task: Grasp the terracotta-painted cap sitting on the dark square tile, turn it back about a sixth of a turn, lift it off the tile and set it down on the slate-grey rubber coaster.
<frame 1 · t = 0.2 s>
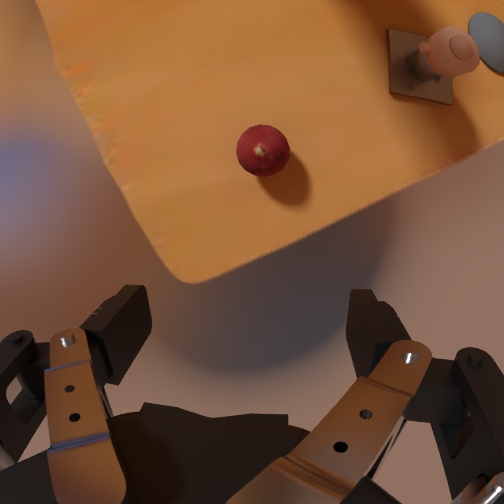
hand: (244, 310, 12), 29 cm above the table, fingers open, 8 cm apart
coaster: (493, 42, 28), on the table
dark square tile: (419, 67, 32), on the table
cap: (443, 55, 25), point 7 cm above the table, touching dark square tile
onion: (264, 150, 38), on the table
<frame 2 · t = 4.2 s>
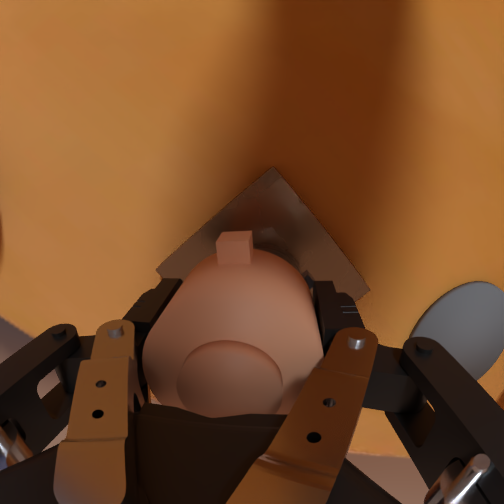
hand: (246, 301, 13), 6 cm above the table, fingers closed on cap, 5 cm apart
coaster: (460, 341, 20), on the table
dark square tile: (263, 274, 19), on the table
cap: (245, 313, 12), point 7 cm above the table, touching gripper
when the fingers open (1 cm above the table, at t = 11.1 s): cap drops 1 cm, resting on coaster.
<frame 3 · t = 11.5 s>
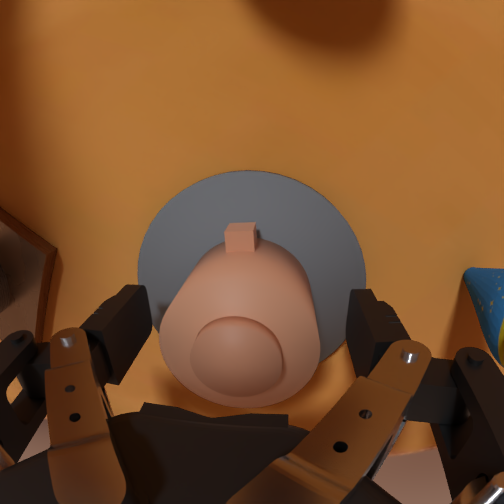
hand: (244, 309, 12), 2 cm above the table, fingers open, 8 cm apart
coaster: (249, 286, 14), on the table
ornament: (468, 269, 13), on the table
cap: (249, 296, 14), point 1 cm above the table, touching coaster
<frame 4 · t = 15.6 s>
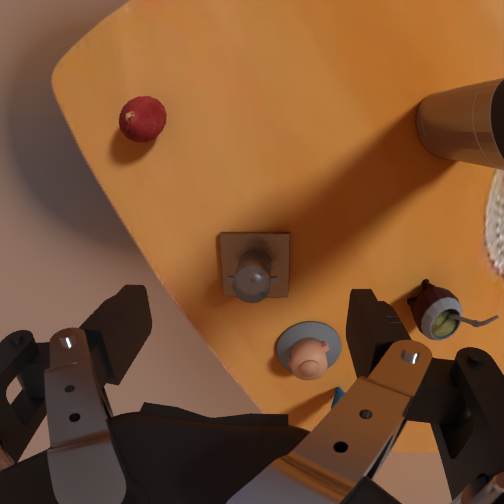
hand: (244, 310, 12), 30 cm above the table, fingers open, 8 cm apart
coaster: (308, 348, 48), on the table
dark square tile: (255, 263, 44), on the table
mate gourd: (425, 294, 43), on the table
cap: (308, 350, 47), point 1 cm above the table, touching coaster
onion: (154, 120, 39), on the table
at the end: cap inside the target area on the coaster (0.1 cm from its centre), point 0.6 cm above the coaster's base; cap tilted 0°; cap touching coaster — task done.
